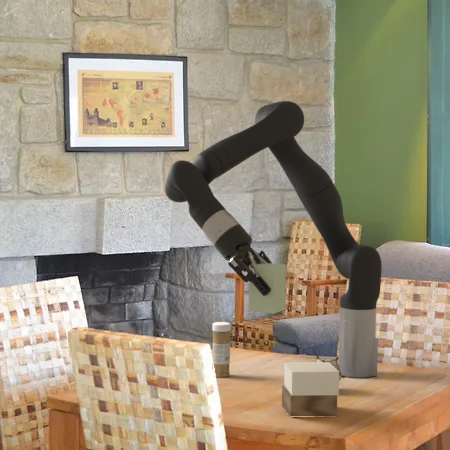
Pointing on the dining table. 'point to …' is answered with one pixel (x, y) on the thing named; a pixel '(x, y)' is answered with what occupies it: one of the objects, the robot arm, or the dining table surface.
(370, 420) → the dining table surface
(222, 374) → the sprinkles bottle
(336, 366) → the game die
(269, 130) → the robot arm
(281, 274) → the sage block
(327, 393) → the tower top
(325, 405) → the tower bottom
